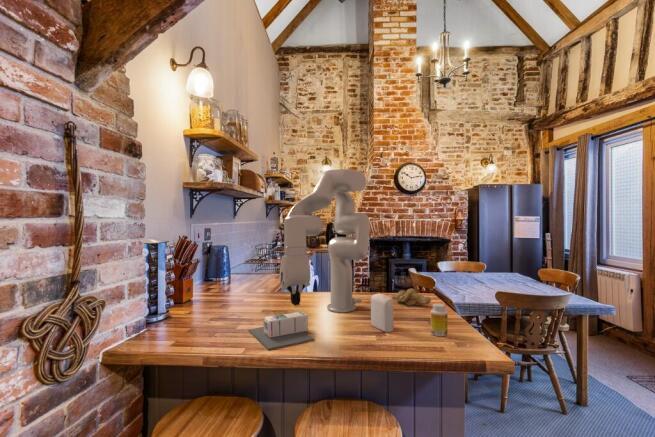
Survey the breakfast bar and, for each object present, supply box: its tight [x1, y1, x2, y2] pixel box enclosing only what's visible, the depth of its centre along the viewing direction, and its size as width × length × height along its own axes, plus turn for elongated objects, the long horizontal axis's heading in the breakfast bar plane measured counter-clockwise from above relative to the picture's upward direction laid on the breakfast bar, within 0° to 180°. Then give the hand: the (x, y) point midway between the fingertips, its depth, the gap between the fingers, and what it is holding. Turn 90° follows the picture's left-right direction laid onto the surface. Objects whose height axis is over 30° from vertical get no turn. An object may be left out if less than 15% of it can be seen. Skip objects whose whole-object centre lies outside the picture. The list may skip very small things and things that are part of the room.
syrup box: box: [263, 310, 309, 338], centre depth 119 cm, size 6×6×14 cm
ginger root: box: [390, 287, 432, 307], centre depth 159 cm, size 16×16×8 cm
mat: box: [248, 326, 315, 351], centre depth 117 cm, size 16×20×1 cm
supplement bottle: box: [430, 303, 448, 337], centre depth 118 cm, size 6×6×10 cm
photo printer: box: [370, 293, 395, 333], centre depth 125 cm, size 10×4×12 cm, turn 26°
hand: (295, 304), depth 118 cm, fingers closed
